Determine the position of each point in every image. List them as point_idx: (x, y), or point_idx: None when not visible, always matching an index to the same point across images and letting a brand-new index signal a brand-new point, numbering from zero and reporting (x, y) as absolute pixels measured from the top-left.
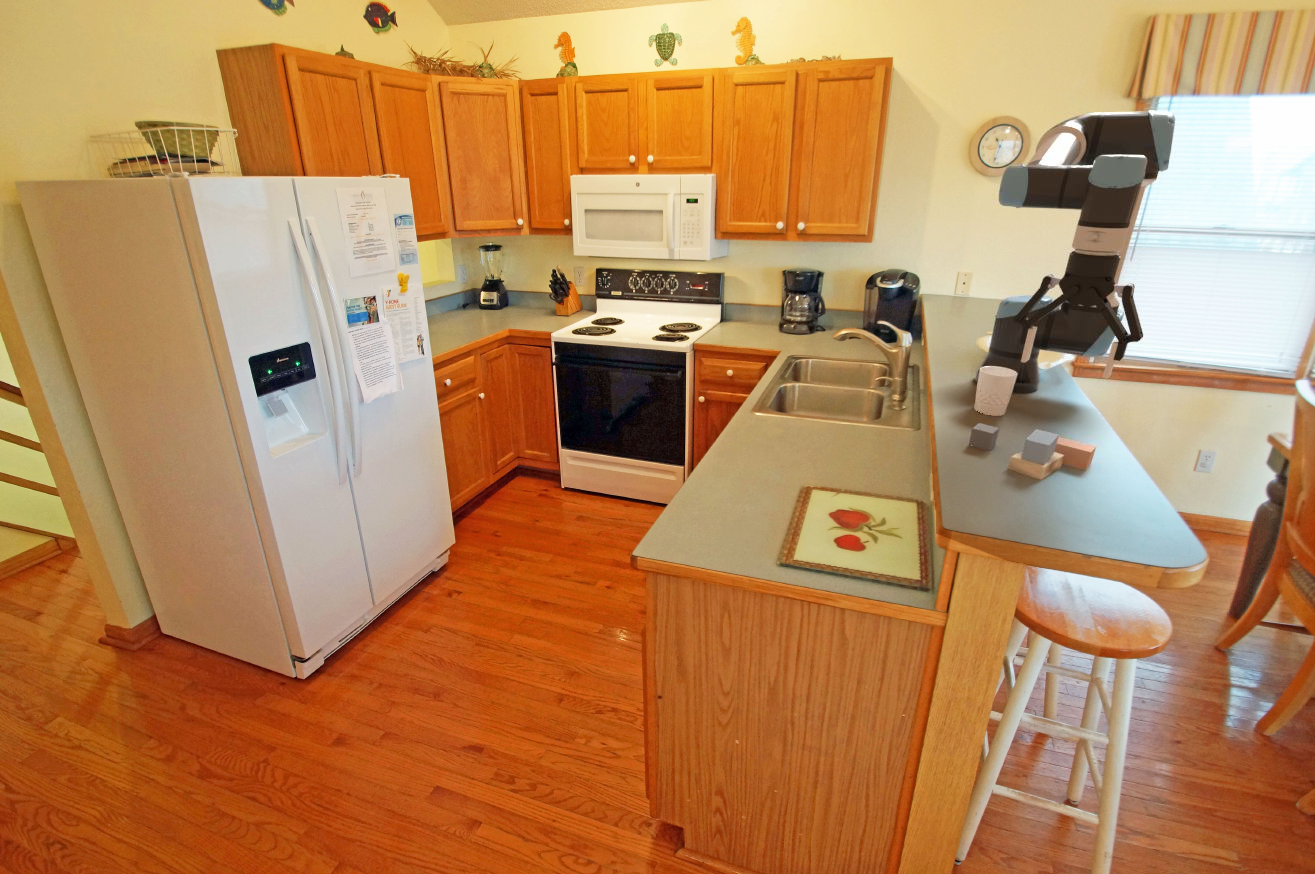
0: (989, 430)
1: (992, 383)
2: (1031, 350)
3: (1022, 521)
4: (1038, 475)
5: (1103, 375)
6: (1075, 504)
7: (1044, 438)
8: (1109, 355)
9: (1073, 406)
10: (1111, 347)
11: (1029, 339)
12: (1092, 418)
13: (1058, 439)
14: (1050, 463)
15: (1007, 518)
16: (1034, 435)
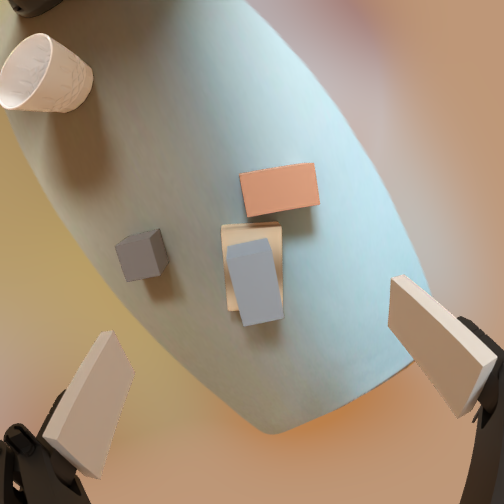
0: (148, 266)
1: (36, 104)
2: (100, 355)
3: (309, 394)
4: None
5: (393, 331)
6: (338, 323)
7: (262, 294)
8: (431, 379)
9: None
10: (447, 403)
11: (108, 442)
12: None
13: (250, 190)
14: (282, 283)
15: (296, 400)
16: (242, 296)
